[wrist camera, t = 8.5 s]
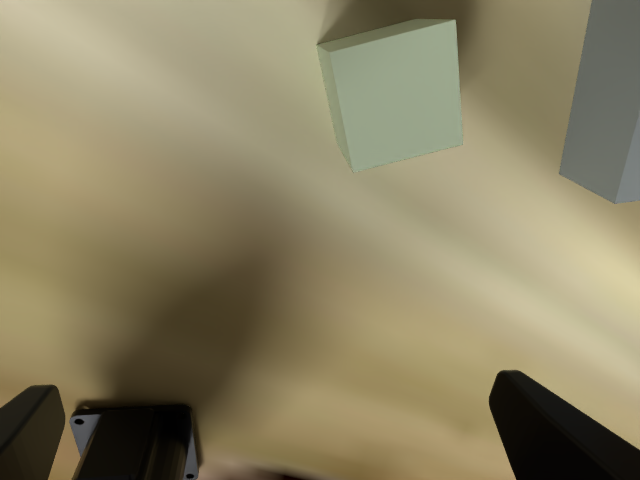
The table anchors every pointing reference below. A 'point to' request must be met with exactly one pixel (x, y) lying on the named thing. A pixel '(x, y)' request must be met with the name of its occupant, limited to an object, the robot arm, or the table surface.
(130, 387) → the table surface
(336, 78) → the sage block
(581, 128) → the base block
